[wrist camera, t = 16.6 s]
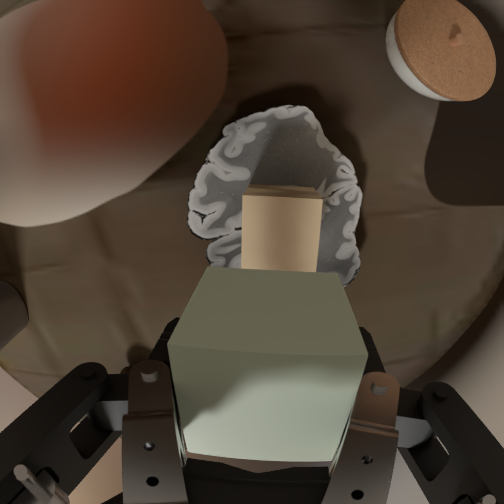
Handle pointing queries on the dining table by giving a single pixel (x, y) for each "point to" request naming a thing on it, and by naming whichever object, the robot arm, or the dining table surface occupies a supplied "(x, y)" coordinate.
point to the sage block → (266, 364)
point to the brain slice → (277, 173)
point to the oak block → (280, 228)
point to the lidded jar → (441, 50)
